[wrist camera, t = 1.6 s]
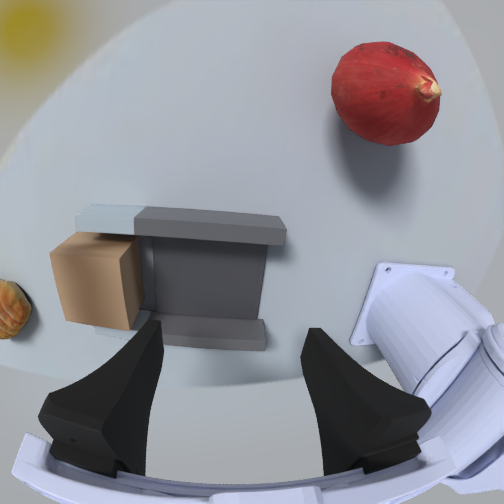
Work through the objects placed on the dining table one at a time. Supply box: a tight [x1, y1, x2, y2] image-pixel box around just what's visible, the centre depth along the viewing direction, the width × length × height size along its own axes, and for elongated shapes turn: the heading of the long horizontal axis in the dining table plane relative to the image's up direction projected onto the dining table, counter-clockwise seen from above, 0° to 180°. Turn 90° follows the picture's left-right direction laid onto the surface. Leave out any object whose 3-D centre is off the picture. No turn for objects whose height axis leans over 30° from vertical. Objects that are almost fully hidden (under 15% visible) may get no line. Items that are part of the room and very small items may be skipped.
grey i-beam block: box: [75, 205, 287, 351], centre depth 17 cm, size 12×9×2 cm
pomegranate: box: [331, 42, 442, 146], centre depth 11 cm, size 6×6×8 cm
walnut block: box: [50, 232, 144, 331], centre depth 16 cm, size 5×5×4 cm
